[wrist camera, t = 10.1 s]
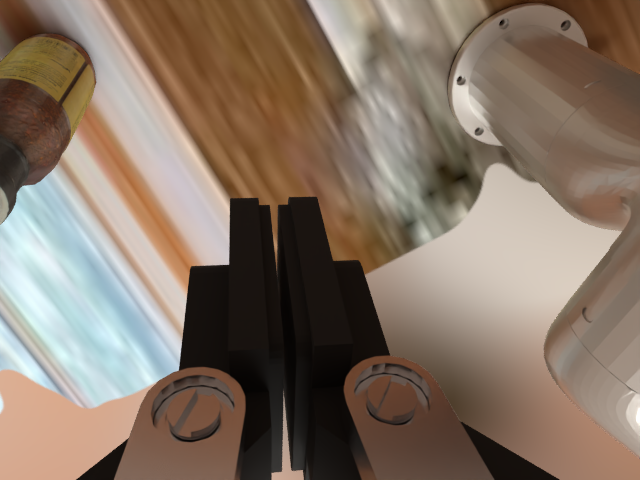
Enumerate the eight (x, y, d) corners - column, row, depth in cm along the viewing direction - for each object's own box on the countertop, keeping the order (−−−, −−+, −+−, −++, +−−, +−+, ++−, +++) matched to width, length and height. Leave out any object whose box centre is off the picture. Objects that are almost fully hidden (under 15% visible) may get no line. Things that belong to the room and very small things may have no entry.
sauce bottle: (-2, 47, 42) (-150, 163, 26) (70, 17, 41) (-36, 115, 25) (50, 121, 46) (-50, 262, 30) (116, 94, 45) (51, 222, 29)
